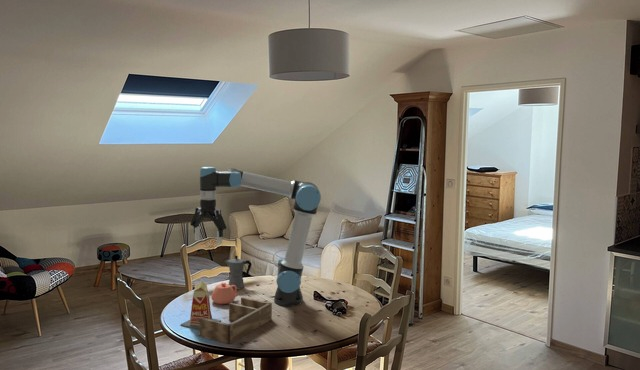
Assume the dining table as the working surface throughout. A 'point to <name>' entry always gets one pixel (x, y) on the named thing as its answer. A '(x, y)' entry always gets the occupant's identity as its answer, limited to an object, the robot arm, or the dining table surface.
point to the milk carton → (200, 304)
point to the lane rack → (237, 321)
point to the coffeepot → (237, 271)
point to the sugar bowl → (224, 294)
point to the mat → (187, 324)
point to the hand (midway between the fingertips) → (208, 241)
